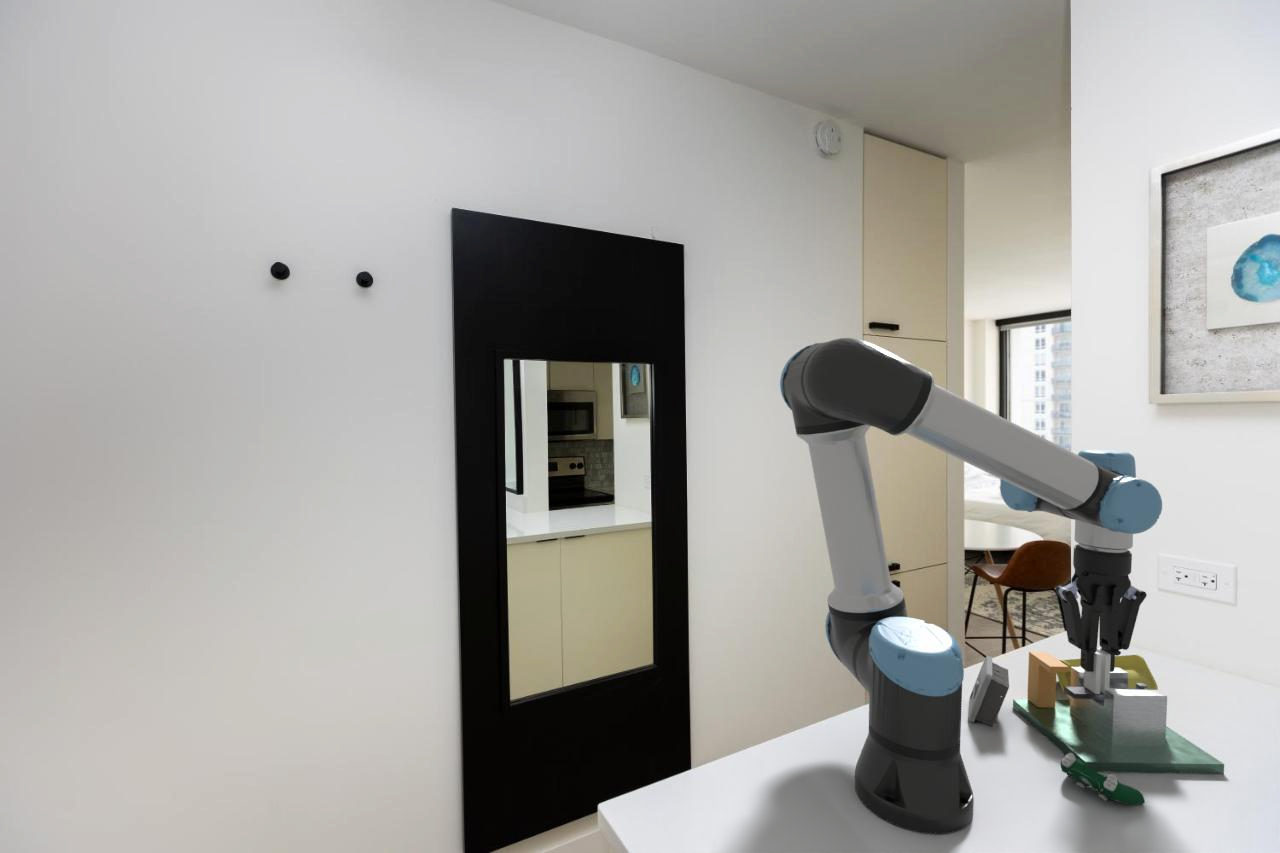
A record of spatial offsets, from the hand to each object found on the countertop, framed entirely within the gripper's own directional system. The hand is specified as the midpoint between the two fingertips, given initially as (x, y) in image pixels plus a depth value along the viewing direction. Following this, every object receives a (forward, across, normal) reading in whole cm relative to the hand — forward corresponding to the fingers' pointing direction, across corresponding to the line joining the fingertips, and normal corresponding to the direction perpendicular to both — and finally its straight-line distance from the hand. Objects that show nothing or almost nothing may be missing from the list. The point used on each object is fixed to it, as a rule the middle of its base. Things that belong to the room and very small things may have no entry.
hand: (1096, 689), depth 102 cm
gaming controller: (+8, +9, +14) cm, 19 cm away
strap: (+1, -2, 0) cm, 3 cm away
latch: (+6, +4, -6) cm, 10 cm away
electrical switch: (+8, +14, -7) cm, 18 cm away
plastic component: (+8, -11, -18) cm, 23 cm away
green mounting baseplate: (+8, -2, 0) cm, 8 cm away
